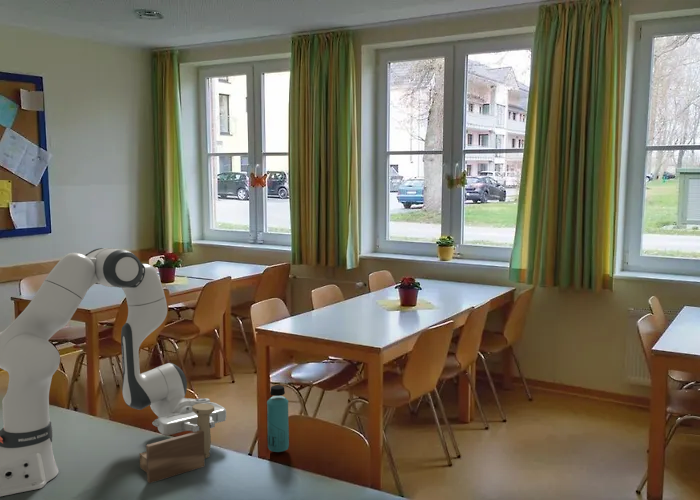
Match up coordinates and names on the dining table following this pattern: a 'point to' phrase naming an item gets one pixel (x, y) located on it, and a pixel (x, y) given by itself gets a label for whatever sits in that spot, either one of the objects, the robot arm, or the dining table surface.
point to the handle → (204, 424)
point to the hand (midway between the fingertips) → (205, 427)
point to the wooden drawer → (173, 456)
